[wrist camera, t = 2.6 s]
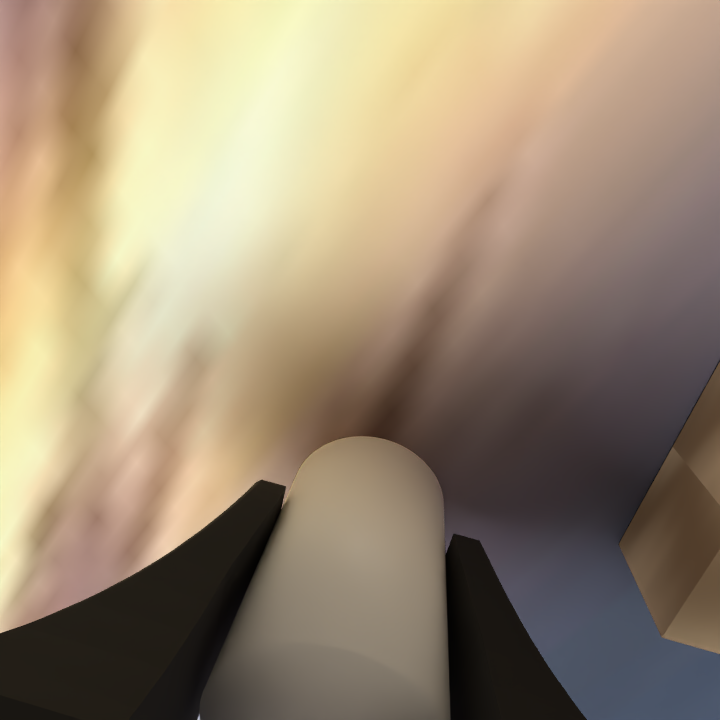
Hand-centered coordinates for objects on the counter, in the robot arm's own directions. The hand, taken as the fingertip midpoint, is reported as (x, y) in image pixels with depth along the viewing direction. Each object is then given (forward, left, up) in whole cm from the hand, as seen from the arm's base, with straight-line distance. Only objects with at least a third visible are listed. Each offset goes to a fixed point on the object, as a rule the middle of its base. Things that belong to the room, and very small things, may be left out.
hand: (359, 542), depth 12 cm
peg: (0, 0, -2) cm, 2 cm away
